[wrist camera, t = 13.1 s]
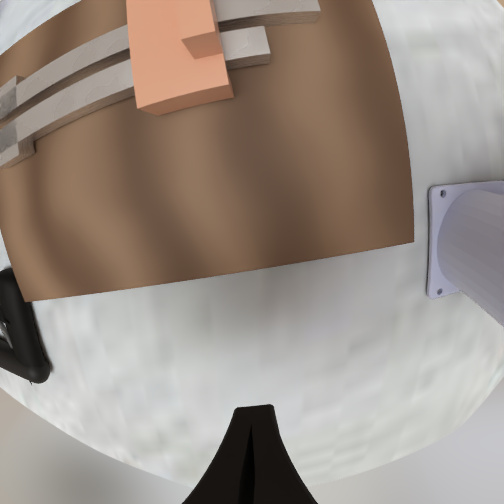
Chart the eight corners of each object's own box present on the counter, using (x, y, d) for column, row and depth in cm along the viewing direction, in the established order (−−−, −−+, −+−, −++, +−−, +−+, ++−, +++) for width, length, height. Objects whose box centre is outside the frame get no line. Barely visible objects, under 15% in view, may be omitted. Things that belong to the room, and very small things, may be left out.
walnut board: (343, -41, 11) (348, -52, 9) (403, 235, 17) (414, 242, 15) (-4, 70, 13) (-15, 68, 11) (35, 294, 19) (25, 302, 17)
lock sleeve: (213, -8, 11) (196, -61, 6) (233, 97, 13) (222, 67, 8) (144, 11, 11) (105, -31, 6) (157, 115, 13) (112, 100, 8)
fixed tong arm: (305, -9, 11) (309, -22, 9) (315, 23, 12) (320, 10, 10) (5, 97, 12) (-10, 95, 11) (6, 125, 13) (-9, 126, 12)
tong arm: (263, 37, 12) (263, 25, 10) (272, 77, 13) (273, 68, 11) (5, 136, 13) (-10, 137, 12) (9, 167, 14) (-7, 170, 12)
